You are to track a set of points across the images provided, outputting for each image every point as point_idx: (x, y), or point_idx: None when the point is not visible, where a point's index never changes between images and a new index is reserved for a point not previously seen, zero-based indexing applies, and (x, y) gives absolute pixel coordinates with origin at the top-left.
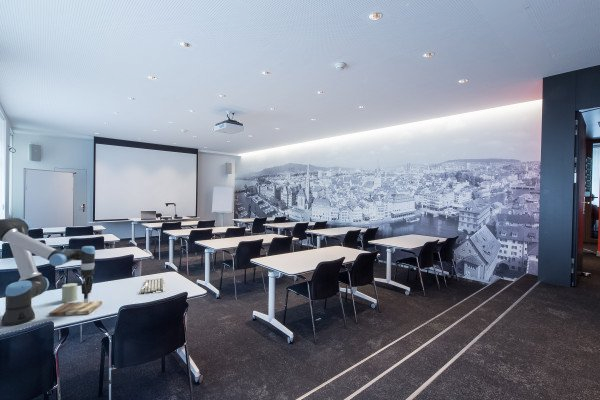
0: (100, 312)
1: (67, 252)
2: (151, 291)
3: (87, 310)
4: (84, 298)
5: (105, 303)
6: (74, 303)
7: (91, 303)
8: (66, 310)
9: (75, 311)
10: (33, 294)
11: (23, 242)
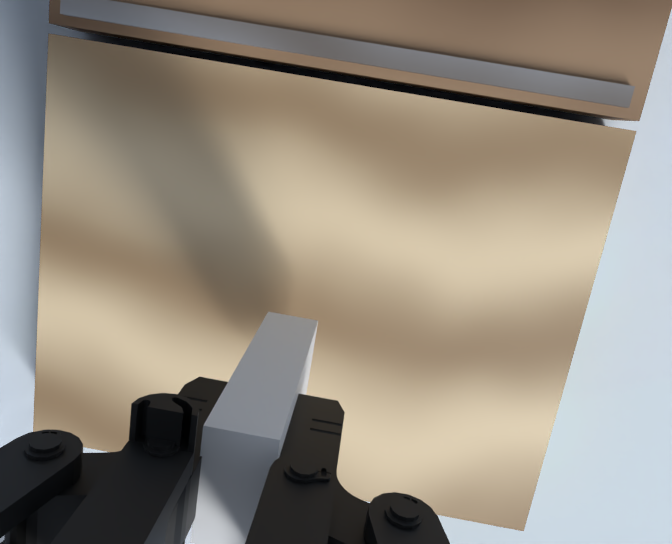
0: None
1: None
2: None
3: (52, 408)
4: (192, 388)
5: (541, 532)
6: (586, 25)
7: (445, 379)
8: (126, 25)
9: (43, 221)
10: None
11: None
